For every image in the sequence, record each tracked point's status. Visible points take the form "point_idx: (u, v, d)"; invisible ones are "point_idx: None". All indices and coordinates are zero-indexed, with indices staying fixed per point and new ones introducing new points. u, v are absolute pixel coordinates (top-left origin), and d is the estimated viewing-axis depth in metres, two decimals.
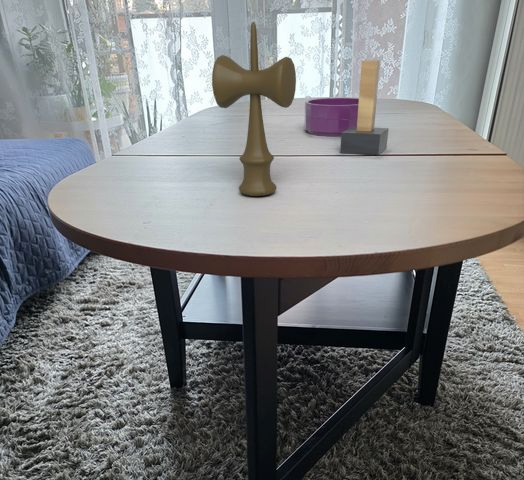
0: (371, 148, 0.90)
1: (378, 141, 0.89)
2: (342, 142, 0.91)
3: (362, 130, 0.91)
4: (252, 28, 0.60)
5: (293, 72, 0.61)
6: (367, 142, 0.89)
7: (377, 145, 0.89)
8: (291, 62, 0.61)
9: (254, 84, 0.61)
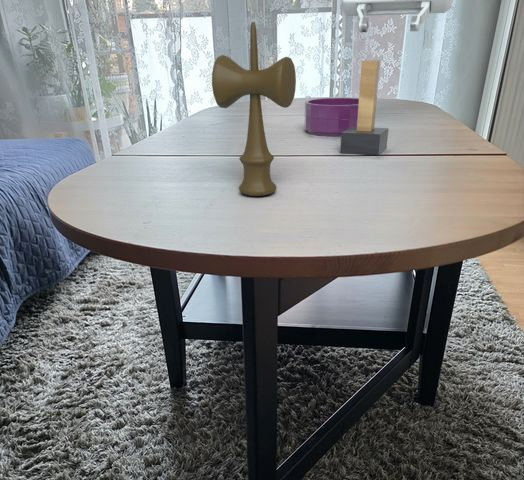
0: (371, 148, 0.90)
1: (378, 141, 0.89)
2: (342, 142, 0.91)
3: (362, 130, 0.91)
4: (252, 28, 0.60)
5: (293, 72, 0.61)
6: (367, 142, 0.89)
7: (377, 145, 0.89)
8: (291, 62, 0.61)
9: (254, 84, 0.61)
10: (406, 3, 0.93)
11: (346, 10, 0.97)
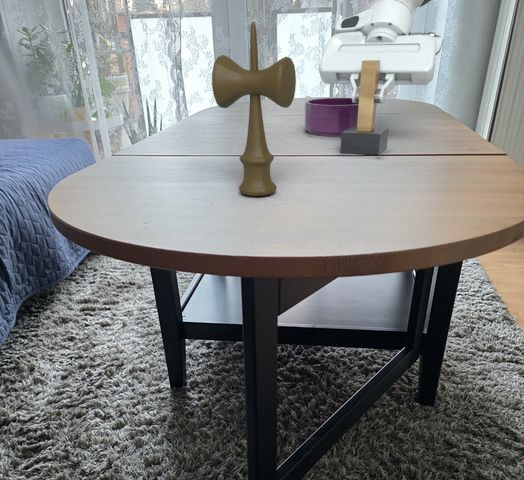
0: (371, 148, 0.90)
1: (378, 141, 0.89)
2: (342, 142, 0.91)
3: (362, 130, 0.91)
4: (252, 28, 0.60)
5: (293, 72, 0.61)
6: (367, 142, 0.89)
7: (377, 145, 0.89)
8: (291, 62, 0.61)
9: (254, 84, 0.61)
10: None
11: (325, 78, 0.93)
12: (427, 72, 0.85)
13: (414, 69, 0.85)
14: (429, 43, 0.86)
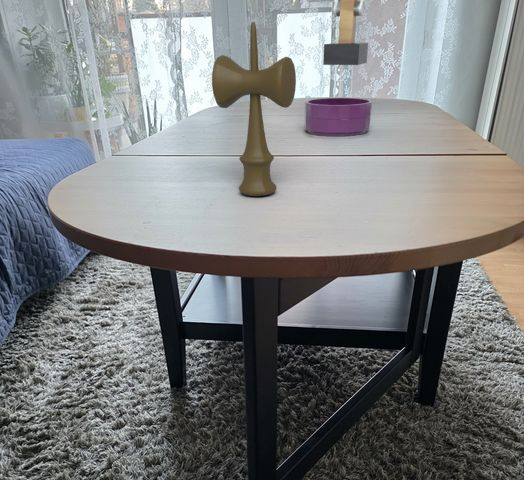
0: (351, 58, 0.97)
1: (357, 51, 0.96)
2: (325, 54, 0.99)
3: (343, 42, 0.98)
4: (252, 28, 0.60)
5: (293, 72, 0.61)
6: (348, 53, 0.97)
7: (357, 55, 0.96)
8: (291, 62, 0.61)
9: (254, 84, 0.61)
10: None
11: None
12: None
13: None
14: None
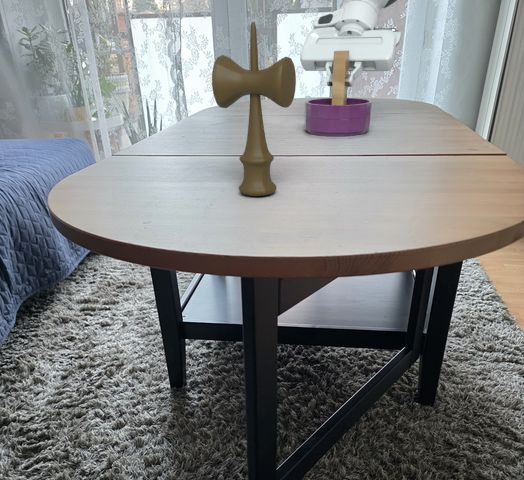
0: None
1: None
2: None
3: None
4: (252, 28, 0.60)
5: (293, 72, 0.61)
6: None
7: None
8: (291, 62, 0.61)
9: (254, 84, 0.61)
10: None
11: (305, 66, 1.11)
12: (388, 60, 1.03)
13: (377, 58, 1.04)
14: (390, 36, 1.04)
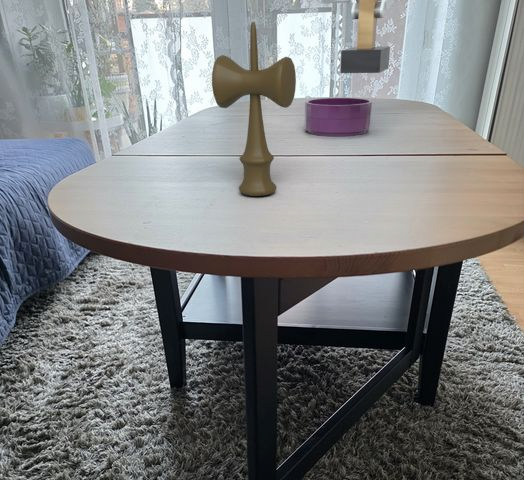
0: (372, 65, 0.87)
1: (379, 57, 0.86)
2: (342, 61, 0.89)
3: (362, 48, 0.88)
4: (252, 28, 0.60)
5: (293, 72, 0.61)
6: (368, 59, 0.87)
7: (378, 61, 0.87)
8: (291, 62, 0.61)
9: (254, 84, 0.61)
10: None
11: None
12: None
13: None
14: None
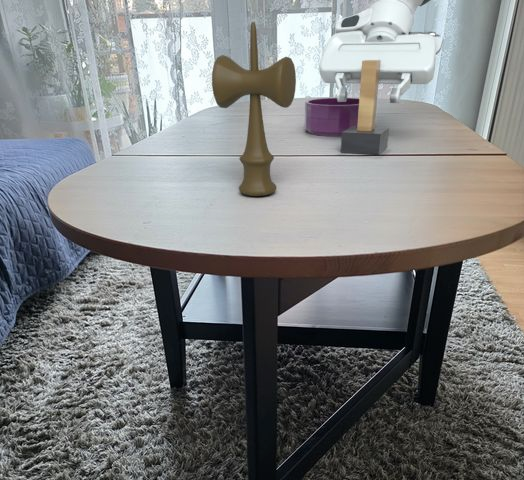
0: (371, 148, 0.90)
1: (378, 141, 0.89)
2: (342, 142, 0.91)
3: (362, 130, 0.91)
4: (252, 28, 0.60)
5: (293, 72, 0.61)
6: (368, 142, 0.90)
7: (377, 145, 0.89)
8: (291, 62, 0.61)
9: (254, 84, 0.61)
10: (386, 73, 0.89)
11: (325, 77, 0.93)
12: (427, 72, 0.85)
13: (414, 69, 0.85)
14: (430, 42, 0.86)
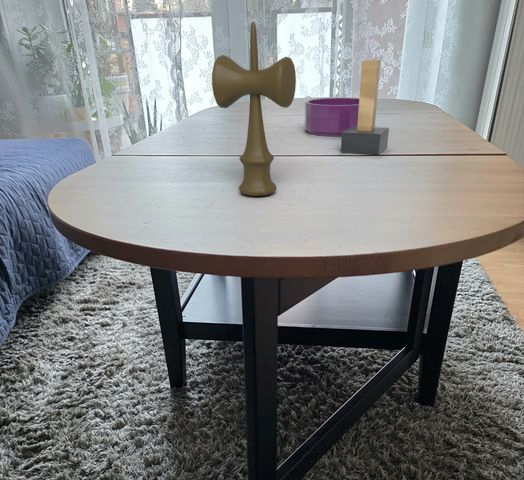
0: (371, 148, 0.90)
1: (378, 141, 0.89)
2: (342, 142, 0.91)
3: (362, 130, 0.91)
4: (252, 28, 0.60)
5: (293, 72, 0.61)
6: (368, 142, 0.90)
7: (377, 145, 0.89)
8: (291, 62, 0.61)
9: (254, 84, 0.61)
10: None
11: None
12: None
13: None
14: None
